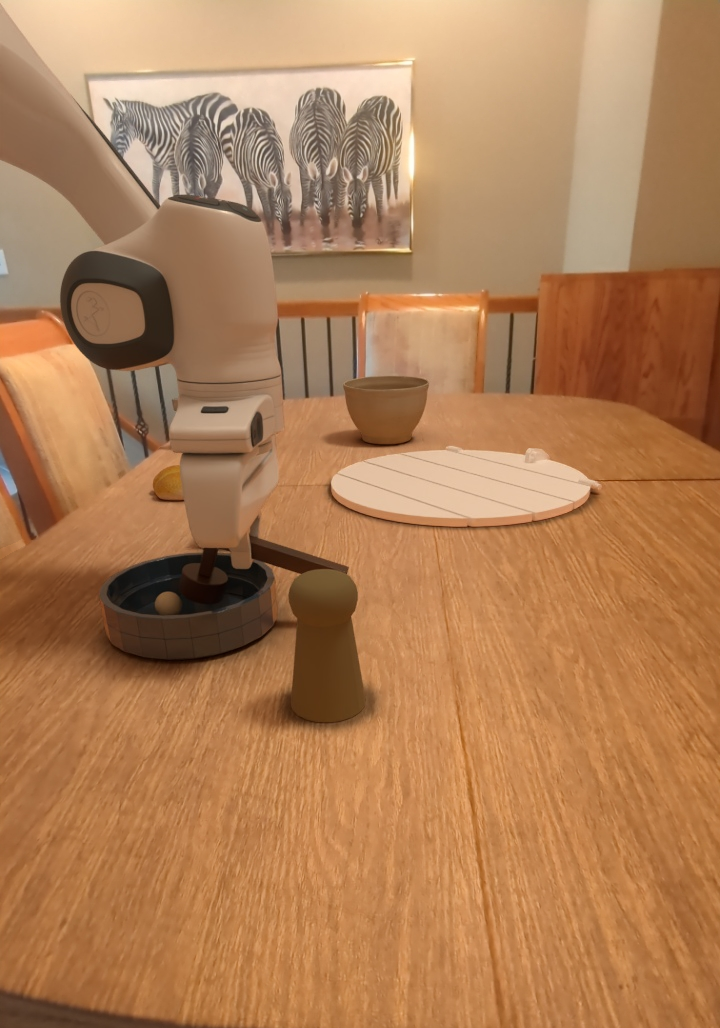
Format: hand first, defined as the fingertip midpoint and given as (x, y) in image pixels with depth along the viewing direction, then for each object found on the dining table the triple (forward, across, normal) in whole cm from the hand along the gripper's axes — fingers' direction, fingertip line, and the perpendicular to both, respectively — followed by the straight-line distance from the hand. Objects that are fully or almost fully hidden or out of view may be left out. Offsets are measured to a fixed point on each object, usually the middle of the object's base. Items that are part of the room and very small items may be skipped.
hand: (246, 560), depth 72 cm
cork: (+6, +15, +9) cm, 19 cm away
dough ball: (+5, 0, -8) cm, 9 cm away
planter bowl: (+7, -82, +9) cm, 83 cm away
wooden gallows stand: (+5, 0, 0) cm, 5 cm away
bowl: (+6, +1, -6) cm, 9 cm away
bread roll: (+7, -45, -21) cm, 50 cm away
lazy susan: (+7, -49, +22) cm, 54 cm away
